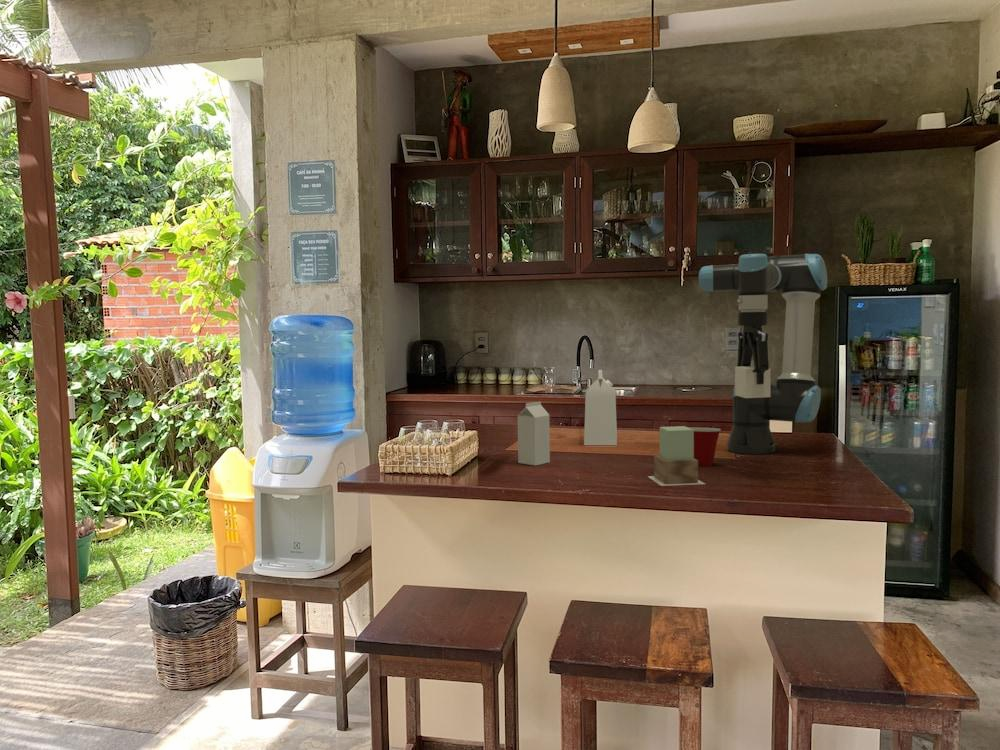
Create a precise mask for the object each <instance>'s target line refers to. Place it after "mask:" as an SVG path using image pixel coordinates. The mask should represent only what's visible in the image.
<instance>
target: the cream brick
mask: <svg viewBox="0 0 1000 750" xmlns="http://www.w3.org/2000/svg"><path fill="white" fill-rule="evenodd" d="M753 370H755V367H754V365H750V366H742V367H738V366H734V386H735V395H736V396H740V397H743V398H762V397H770V384H771V385H772V382H771V371H772V369H771V367H769V369H768V370H766V371H765V372H764V396H755V397H754V396H753Z"/></svg>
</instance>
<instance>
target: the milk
mask: <svg viewBox="0 0 1000 750" xmlns="http://www.w3.org/2000/svg"><path fill="white" fill-rule="evenodd" d="M613 386H614V384H613V383H612V382H611V381H610V379H607V380H606V379H605V378H604V377H603V369H599V370H598V377H597V379H595V381H594V382H593V383H592V384H591V385H589V386H588V387H587V389H586V390H585V398H584V399H585V401H584V402H585V405H584V406H585V407H584V435H583V437H584V438H583V446H584V445H617V446H618V431H617V430H618V428H617V424H618V423H617V395H616V389H615V388H614V387H613Z"/></svg>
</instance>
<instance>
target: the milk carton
mask: <svg viewBox="0 0 1000 750" xmlns="http://www.w3.org/2000/svg"><path fill="white" fill-rule="evenodd" d="M550 438H551V436H550V414H549V413H548V411H547V410H546V409H545V408H544V407H543V405H542V401H534V402H533V401H532V402H526V403H525V407H524V408H523V409H522V410H521V411H520V412H519V413H518V414H517V463H518V464H523V465H529V466H541V465H544V464H548V463H550V462H551V447H550V446H551V443H550V441H551V440H550Z"/></svg>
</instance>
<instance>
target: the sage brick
mask: <svg viewBox="0 0 1000 750" xmlns="http://www.w3.org/2000/svg"><path fill="white" fill-rule="evenodd" d="M690 428H691V427H688V426H685V425H682V426H681V425H679V426H659V455H660V457H662V458H664V459H666V460H667V461H677V460H694V430H693V429H690Z"/></svg>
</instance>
